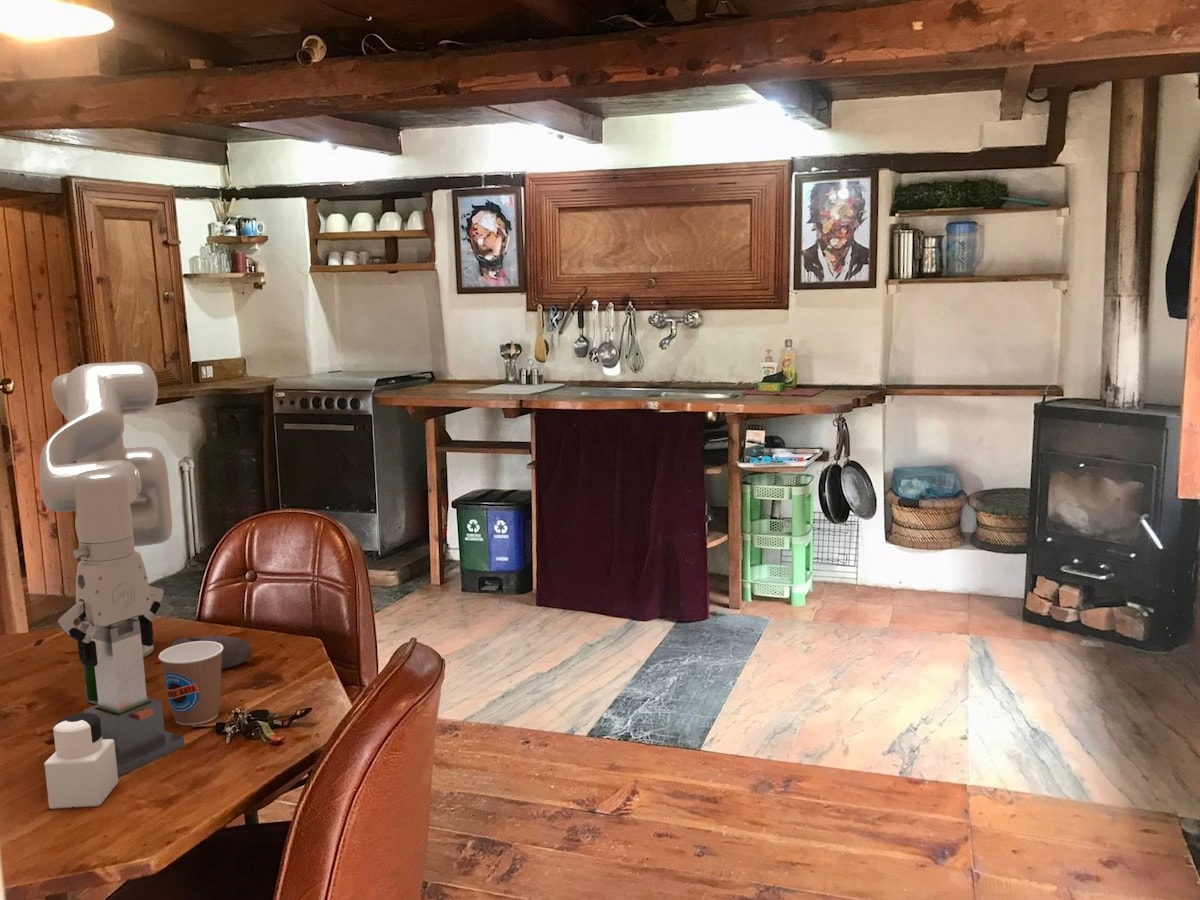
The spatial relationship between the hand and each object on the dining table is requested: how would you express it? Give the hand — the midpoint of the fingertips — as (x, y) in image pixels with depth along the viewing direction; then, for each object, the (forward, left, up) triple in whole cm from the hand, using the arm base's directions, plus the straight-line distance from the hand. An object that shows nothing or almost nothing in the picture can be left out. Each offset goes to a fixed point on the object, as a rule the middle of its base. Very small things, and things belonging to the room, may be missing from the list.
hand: (118, 654), depth 159 cm
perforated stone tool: (-18, +31, -17) cm, 39 cm away
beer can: (-24, +12, -17) cm, 31 cm away
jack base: (0, 0, -16) cm, 16 cm away
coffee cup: (-1, +14, -17) cm, 22 cm away
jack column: (0, 0, -10) cm, 10 cm away
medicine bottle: (+7, -12, -17) cm, 22 cm away
